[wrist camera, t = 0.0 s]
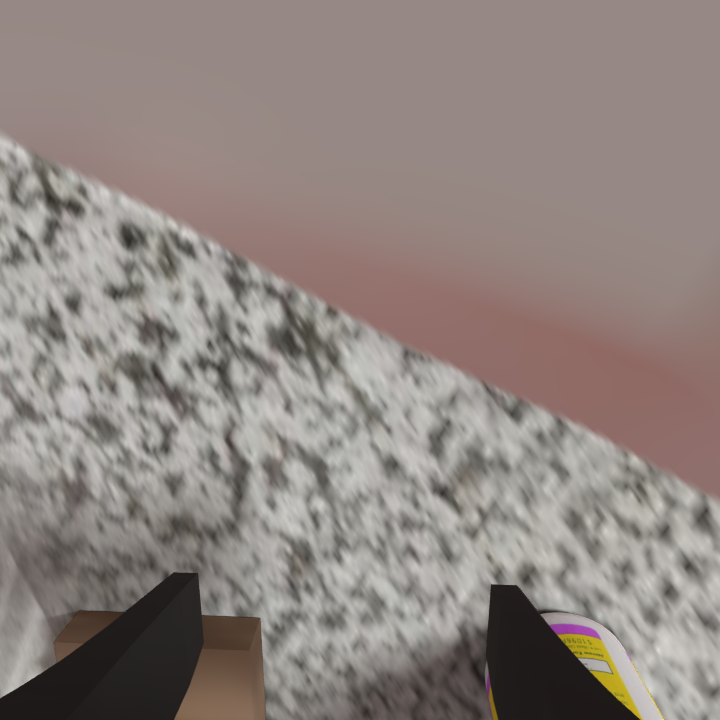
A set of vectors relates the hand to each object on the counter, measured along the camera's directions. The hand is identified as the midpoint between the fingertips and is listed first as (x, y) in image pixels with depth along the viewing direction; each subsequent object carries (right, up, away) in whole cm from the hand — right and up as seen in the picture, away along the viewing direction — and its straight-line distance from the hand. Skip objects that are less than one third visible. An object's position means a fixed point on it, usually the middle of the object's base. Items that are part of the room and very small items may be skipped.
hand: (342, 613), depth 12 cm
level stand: (-9, -13, +14) cm, 21 cm away
